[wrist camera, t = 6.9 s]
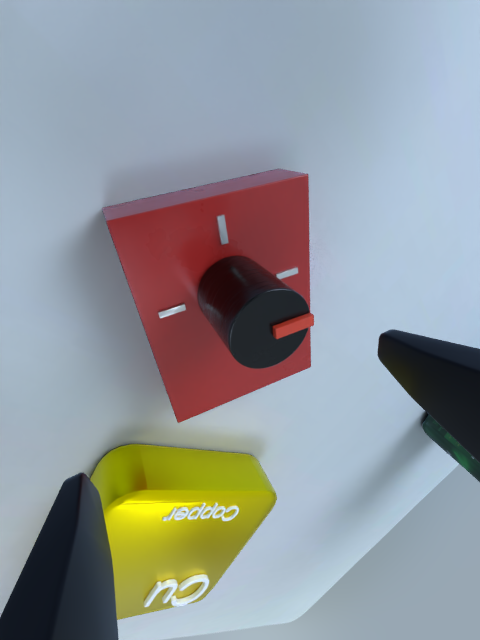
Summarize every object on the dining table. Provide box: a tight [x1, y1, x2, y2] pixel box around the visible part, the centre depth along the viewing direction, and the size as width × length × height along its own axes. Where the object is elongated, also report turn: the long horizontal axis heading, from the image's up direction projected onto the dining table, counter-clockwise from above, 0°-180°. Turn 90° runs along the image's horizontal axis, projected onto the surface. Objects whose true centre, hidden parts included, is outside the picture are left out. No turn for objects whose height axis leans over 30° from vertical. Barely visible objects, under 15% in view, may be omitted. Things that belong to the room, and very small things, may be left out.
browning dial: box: [197, 256, 314, 369], centre depth 16 cm, size 4×4×5 cm
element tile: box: [90, 444, 277, 620], centre depth 27 cm, size 15×15×5 cm
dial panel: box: [102, 169, 311, 423], centre depth 20 cm, size 13×10×3 cm
